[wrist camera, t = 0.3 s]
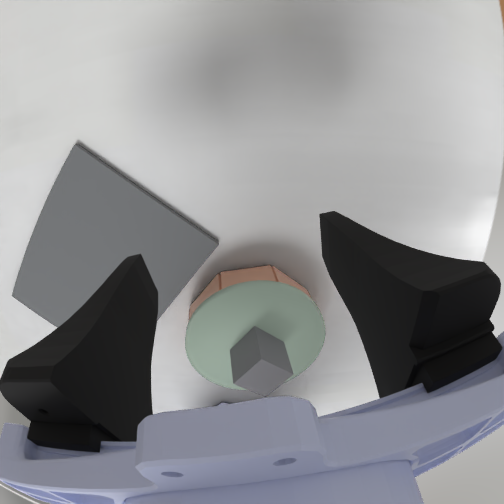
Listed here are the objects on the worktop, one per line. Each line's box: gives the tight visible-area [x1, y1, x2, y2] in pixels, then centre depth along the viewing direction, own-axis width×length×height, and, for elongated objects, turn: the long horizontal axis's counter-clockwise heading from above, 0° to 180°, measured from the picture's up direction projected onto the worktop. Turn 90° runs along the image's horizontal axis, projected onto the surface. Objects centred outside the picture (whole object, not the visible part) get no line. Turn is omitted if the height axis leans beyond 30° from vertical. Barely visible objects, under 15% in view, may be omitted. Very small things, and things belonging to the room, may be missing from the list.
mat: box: [12, 144, 219, 327], centre depth 23 cm, size 16×13×1 cm
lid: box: [185, 280, 325, 397], centre depth 22 cm, size 11×11×4 cm
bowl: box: [189, 265, 312, 320], centre depth 26 cm, size 10×10×3 cm
